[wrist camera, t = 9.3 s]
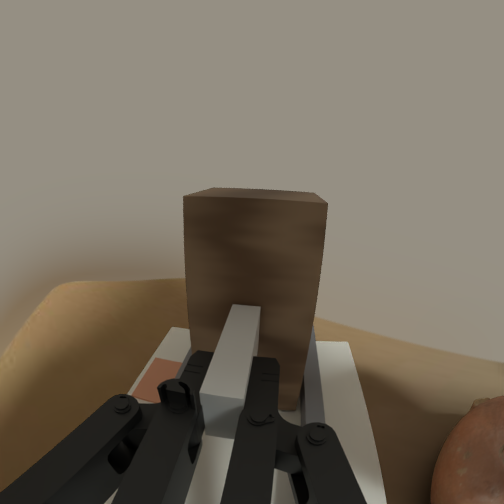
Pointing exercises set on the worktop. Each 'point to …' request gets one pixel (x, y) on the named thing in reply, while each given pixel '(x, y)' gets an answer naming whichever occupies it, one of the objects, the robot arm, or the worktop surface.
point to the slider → (256, 271)
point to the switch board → (307, 411)
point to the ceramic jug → (473, 458)
